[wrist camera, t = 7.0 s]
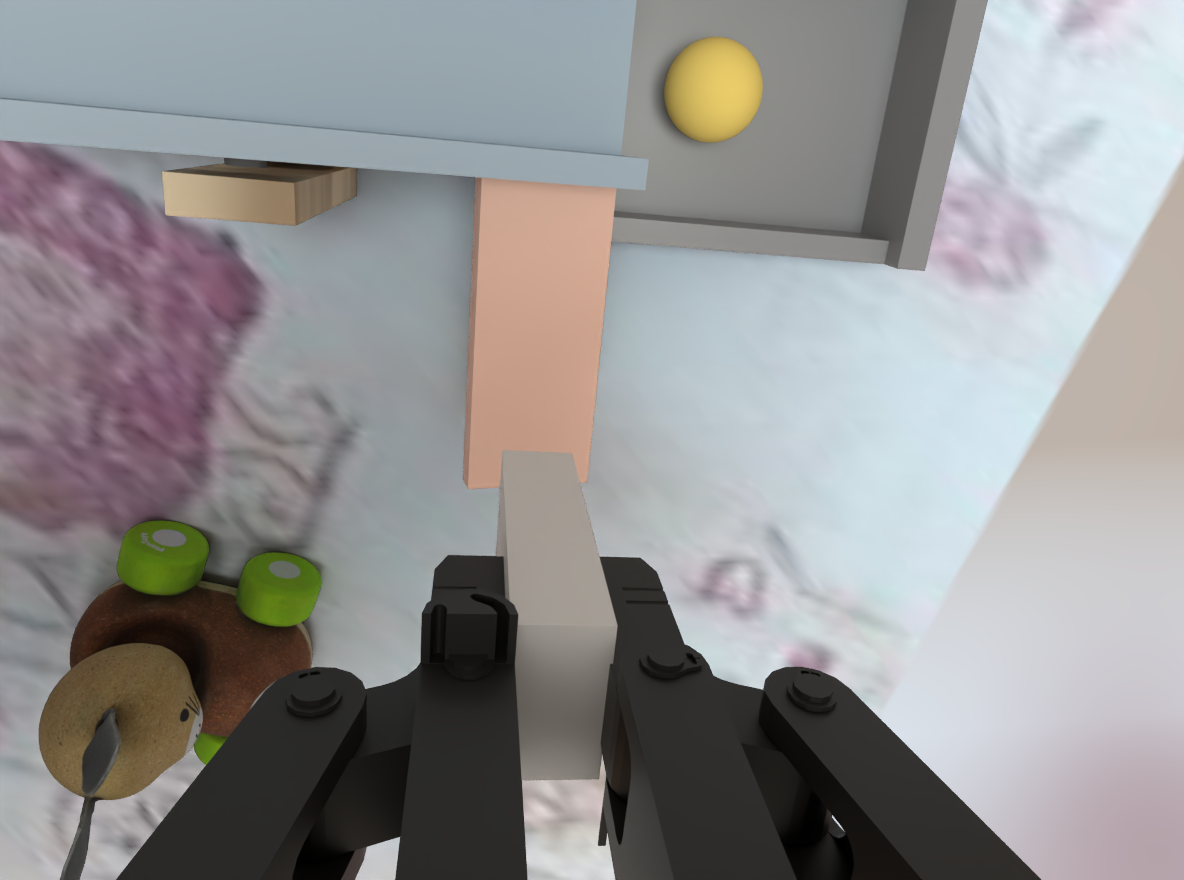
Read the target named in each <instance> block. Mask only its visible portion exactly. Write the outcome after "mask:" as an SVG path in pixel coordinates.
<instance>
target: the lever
mask: <svg viewBox="0 0 1184 880" xmlns="http://www.w3.org/2000/svg"><path fill="white" fill-rule="evenodd" d="M636 2H637V0H0V140H6V141H18V142H31V143H44V144H57V145H70V146H83V147H95V148H108V149H121V150H134V151H147V152H159V153H172V154H185V155H198V156H211V157H224V162H225V165H230V166H238V167H251V168H267V161H275V162H288V163H301V164H313V165H326V166H339V167H352V168H365V169H378V170H390V171H403V172H416V173H429V174H442V175H455V176H467V177H476V179H475V202H474V226H473V250H472V274H471V297H470V321H469V345H468V368H467V392H466V416H465V440H464V463H463V480H464V482H465V484H466V486H467V488H468V489H479V488H497V487H500V478H501V462H502V450H513V451H536V452H559V453H572V455H573V458H574V462H575V466H576V470H577V474H578V477H579V481H580V483H585V482H587V480H588V470H589V460H590V450H591V440H592V430H593V420H594V409H595V399H596V389H597V379H598V369H599V359H600V349H601V339H602V329H603V319H604V309H605V299H606V289H607V279H608V269H609V259H610V249H611V239H612V229H613V219H614V209H615V199H616V189H617V188H621V189H634V190H645V189H646V180H647V171H648V162H649V159H645V158H638V157H630V156H623V155H621V151H622V141H623V131H624V121H625V111H626V101H627V92H628V82H629V72H630V62H631V52H632V42H633V32H634V22H635V12H636Z"/></svg>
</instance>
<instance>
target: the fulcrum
mask: <svg viewBox="0 0 1184 880" xmlns="http://www.w3.org/2000/svg"><path fill="white" fill-rule="evenodd" d="M162 178H163V190H164V202H165V214H166V215H171V216H183V217H195V218H208V219H220V220H232V221H245V222H257V223H269V224H282V225H294V226H296V225H298V224H300V223H302V222H304V221H306V220H308V219H310V218H312V217H314V216H316V215H318V214H320V213H323V212H325V211H327V210H329V209H331V208H333V207H335V206H337V205H339V204H341V203H343V202H345V201H347V200H349V199H351V198H353V197H355V196H357V168H352V167H339V166H326V165H313V164H301V163H288V162H275V161H267V168H251V167H238V166H230V165H225V163H224V164H216V165H208V166H200V167H193V168H185V169H177V170H169V171H162Z"/></svg>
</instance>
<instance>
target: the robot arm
mask: <svg viewBox="0 0 1184 880" xmlns="http://www.w3.org/2000/svg"><path fill="white" fill-rule="evenodd" d="M602 755H603V760H604V765H605V771H606V782H605V790H604V798H603V806H602V814H601V822H600V830H599V840H598V846H605V845H606V838H607V833H608V838H609V844H610V850H611V856H612V862H613V868H614V874H615V879H616V880H1041V879H1040V878H1039V877H1038V876H1037V875H1036V874H1035V873H1034V872H1033V871H1032V870H1031V869H1030V868H1029V867H1028V866H1027V865H1026V864H1025V863H1024V862H1023V861H1022V860H1021V859H1020V858H1019V857H1018V856H1017V855H1016V854H1015V853H1014V852H1013V851H1012V850H1011V849H1010V848H1009V847H1008V846H1007V845H1006V844H1005V843H1004V842H1003V841H1002V840H1001V839H1000V838H999V837H998V836H997V835H996V834H995V833H994V832H993V831H992V830H991V829H990V828H989V827H988V826H987V825H986V824H985V823H984V822H983V821H982V820H981V819H980V818H979V817H978V816H977V815H976V814H975V813H974V812H973V811H972V810H971V809H970V808H969V807H968V806H967V805H966V804H965V803H964V802H963V801H962V800H961V799H960V798H959V797H958V796H957V795H956V794H955V793H954V792H953V791H952V790H951V789H950V788H949V787H948V786H947V785H946V784H945V783H944V782H943V781H942V780H941V779H940V778H939V777H938V776H937V775H936V774H935V773H934V772H933V771H932V770H931V769H930V768H929V767H928V766H927V765H926V764H925V763H924V762H923V761H922V760H921V759H920V758H919V757H918V756H917V755H916V754H915V753H914V752H913V751H912V750H911V749H910V748H909V747H908V746H907V745H906V744H905V743H904V742H903V741H902V740H901V739H900V738H899V737H898V736H897V735H896V734H895V733H894V732H893V731H892V730H891V729H890V728H889V727H887V725H886V724H885V723H884V722H883V721H882V720H881V719H880V718H879V717H878V716H877V715H876V714H875V713H874V712H873V711H872V710H871V709H870V708H869V707H868V706H867V705H866V704H865V703H864V702H863V701H862V700H861V699H860V698H859V697H858V696H857V695H856V694H855V693H854V692H853V691H852V690H851V689H850V688H848V687H847V686H846V685H844V684H843V683H842V682H840V681H839V680H838V679H836V678H835V677H832V676H830V675H828V674H826V673H823V672H821V671H818V670H815V669H809V668H804V667H785V668H782V669H779V670H776V671H773V672H772V673H771V674H770V675H769V676H768V677H767V678H766V680H765V684H764V689H763V690H761V689H757V688H752V687H748V686H743V685H738V684H734V683H731V682H728V681H724V680H721V679H719V678H717V677H715V676H713V674H712V671H711V669H710V667H709V664H708V663H707V662H706V660H705V659H704V657H703V656H702V655H701V654H700V653H698V652H697V651H695V650H694V649H693V648H691V647H690V646H687V645H685V644H684V642H683V639H682V637H681V634H680V631H679V629H678V626H677V624H676V621H675V618H674V616H673V613H672V611H671V608H670V605H668V600H667V597H666V595H665V592H664V591H663V587H662V584H661V582H660V579H659V577H658V574H657V572H656V571H655V570H654V569H653V568H652V567H650V566H649V565H648V564H647V563H646V562H645V561H644V560H642V559H641V558H629V557H599V553H598V550H597V546H596V542H595V538H594V534H593V531H592V527H591V523H590V519H589V515H588V512H587V508H586V504H585V500H584V496H583V493H582V489H581V485H580V481H579V477H578V474H577V470H576V466H575V462H574V458H573V455H572V453H559V452H536V451H513V450H502V462H501V478H500V495H499V512H498V529H497V546H496V556H464V555H448V556H447V557H446V558H445V559H444V560H443V561H442V562H441V563H440V564H439V565H438V566H437V567H436V568H435V571H434V579H433V589H432V597H431V601H430V602H428V603H427V604H426V606H425V608H424V610H423V612H422V628H421V663H420V664H419V665H418V667H417V668H416V669H415V670H414V671H412V672H411V673H410V674H408V675H407V676H405V677H403V678H401V679H399V680H397V681H395V682H392V683H389V684H385V685H382V686H378V687H373V688H368V689H365V688H364V685H363V682H362V681H361V680H360V679H358V678H357V677H356V676H355V675H353V674H352V673H350V672H347V671H344V670H340V669H337V668H324V667H314V668H309V669H304V670H299V671H295V672H293V673H291V674H288V675H286V676H284V677H282V678H280V679H278V680H277V681H275V682H274V683H273V684H272V685H271V686H270V687H268V688H267V689H266V690H265V691H264V692H263V694H262V695H261V696H260V698H259V699H258V700H257V701H256V703H255V704H254V705H253V706H252V708H251V709H250V710H249V712H248V713H247V714H246V715H245V717H244V718H243V719H242V720H241V722H240V723H239V724H238V726H237V727H236V728H235V729H234V731H233V732H232V733H231V734H230V736H229V737H228V738H227V739H226V741H225V742H224V743H223V745H222V746H221V747H220V748H219V750H218V751H217V752H216V753H215V755H214V756H213V757H212V759H211V760H210V761H209V762H208V764H207V765H206V766H205V767H204V769H203V770H202V771H201V772H200V774H199V775H198V776H197V778H196V779H195V780H194V781H193V783H192V784H191V785H190V786H189V788H188V789H187V790H186V792H185V793H184V794H183V795H182V797H181V798H180V799H179V800H178V802H177V803H176V804H175V806H174V807H173V808H172V809H171V811H170V812H169V813H168V814H167V816H166V817H165V818H164V819H163V821H162V822H161V823H160V825H159V826H158V827H157V828H156V830H155V831H154V832H153V833H152V835H151V836H150V837H149V839H148V840H147V841H146V842H145V844H144V845H143V846H142V847H141V849H140V850H139V851H138V852H137V854H136V855H135V856H134V858H133V859H132V860H131V861H130V863H129V864H128V865H127V866H126V868H125V869H124V870H123V872H122V873H121V874H120V875H119V877H118V878H117V879H116V880H355V878H356V876H357V873H358V871H359V869H360V867H361V865H362V863H363V860H364V856H365V852H366V847H367V846H371V845H374V844H377V843H381V842H384V841H387V840H391V839H394V838H397V837H400V844H399V853H398V861H397V870H396V878H395V880H527V864H526V847H525V829H524V812H523V795H522V780H578V779H599V775H600V766H601V758H602ZM832 815H833V816H834V817H835V819H836V820H837V821H838V822H839V824H840V825H841V826H842V828H843V829H844V831H845V832H844V831H843V830H842V829H841V828H840V827H839V826H838V824H837V823H836V822H835V821H834V819H833V818H832Z"/></svg>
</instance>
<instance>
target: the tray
mask: <svg viewBox="0 0 1184 880" xmlns="http://www.w3.org/2000/svg"><path fill="white" fill-rule="evenodd" d="M987 1H988V0H637V2H636V12H635V22H634V32H633V42H632V52H631V62H630V72H629V82H628V92H627V101H626V111H625V121H624V131H623V141H622V151H621V155H623V156H630V157H638V158H645V159H649V162H648V171H647V180H646V189H645V190H634V189H621V188H617V189H616V199H615V209H614V219H613V229H612V239H611V242H623V243H635V244H647V245H659V246H671V247H684V248H696V249H708V250H720V251H732V252H744V253H756V254H768V255H780V256H792V257H804V258H816V259H829V260H841V261H853V262H865V263H877V264H885V265H888V266H891V267H894V268H897V269H908V270H920V271H925V268H926V264H927V259H928V255H929V251H930V246H931V242H932V238H933V233H934V229H935V225H936V221H937V216H938V212H939V208H940V203H941V199H942V195H943V190H944V186H945V182H946V178H947V173H948V169H949V165H950V160H951V156H952V152H953V147H954V143H955V139H956V135H957V130H958V126H959V122H960V117H961V113H962V109H963V104H964V100H965V96H966V92H967V87H968V83H969V79H970V74H971V70H972V66H973V61H974V57H975V53H976V49H977V44H978V40H979V36H980V31H981V27H982V23H983V18H984V14H985V10H986V6H987ZM708 37H725V38H729V39H732V40H735V41H737V42H738V43H740V44H742V45H743V46H744V47H746V48H747V49H748V50H749V51H750V52H751V54H752V55H753V56H754V58H755V59H756V61H757V63H758V65H759V68H760V71H761V75H762V80H763V93H762V99H761V103H760V106H759V108H758V111H757V113H756V115H755V116H754V118H753V120H752V121H751V122H750V124H749V125H748V126H747V127H746V128H745V129H744V130H743V131H741V132H740V133H739V134H737V135H736V136H734V137H732V138H730V139H727V140H725V141H721V142H714V143H706V142H700V141H697V140H694V139H692V138H690V137H688V136H687V135H685V134H684V133H682V132H681V131H680V130H679V129H678V128H677V127H676V126H675V124H674V123H673V121H672V120H671V118H670V116H669V114H668V111H667V108H666V104H665V98H664V87H665V81H666V77H667V74H668V71H669V69H670V66H671V65H672V63H673V61H674V60H675V58H676V57H677V56H678V55H679V54H680V53H681V52H682V51H683V50H684V49H685V48H686V47H687V46H689V45H690V44H692V43H694V42H696V41H698V40H700V39H704V38H708Z"/></svg>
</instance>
